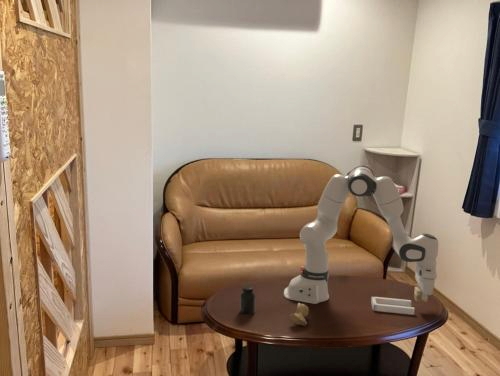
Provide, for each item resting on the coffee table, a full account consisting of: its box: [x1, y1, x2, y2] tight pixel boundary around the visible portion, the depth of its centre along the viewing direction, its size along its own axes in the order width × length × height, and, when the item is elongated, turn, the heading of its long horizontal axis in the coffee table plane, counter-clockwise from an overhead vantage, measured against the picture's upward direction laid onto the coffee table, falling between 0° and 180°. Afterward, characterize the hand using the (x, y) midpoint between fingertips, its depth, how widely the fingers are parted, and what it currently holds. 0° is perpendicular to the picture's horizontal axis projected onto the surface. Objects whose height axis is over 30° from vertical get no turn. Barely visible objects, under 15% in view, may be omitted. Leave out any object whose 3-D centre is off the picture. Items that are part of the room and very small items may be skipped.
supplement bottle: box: [239, 284, 256, 316], centre depth 208 cm, size 7×7×12 cm
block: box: [413, 286, 429, 303], centre depth 216 cm, size 5×5×5 cm
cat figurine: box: [289, 302, 310, 327], centre depth 202 cm, size 8×7×12 cm
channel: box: [370, 295, 416, 316], centre depth 219 cm, size 18×10×3 cm, turn 81°
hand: (421, 296), depth 216 cm, fingers closed on block, 5 cm apart
